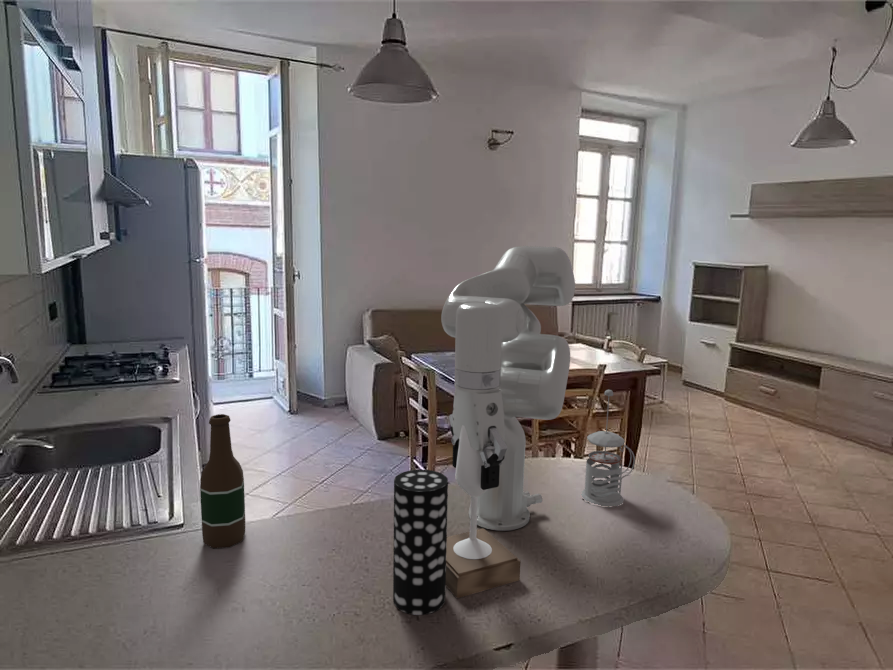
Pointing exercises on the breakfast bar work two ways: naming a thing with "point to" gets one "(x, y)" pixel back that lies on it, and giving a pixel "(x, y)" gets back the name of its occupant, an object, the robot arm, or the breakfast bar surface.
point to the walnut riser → (479, 567)
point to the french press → (601, 489)
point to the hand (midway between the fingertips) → (474, 476)
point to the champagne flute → (471, 484)
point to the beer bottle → (222, 490)
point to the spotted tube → (420, 541)
